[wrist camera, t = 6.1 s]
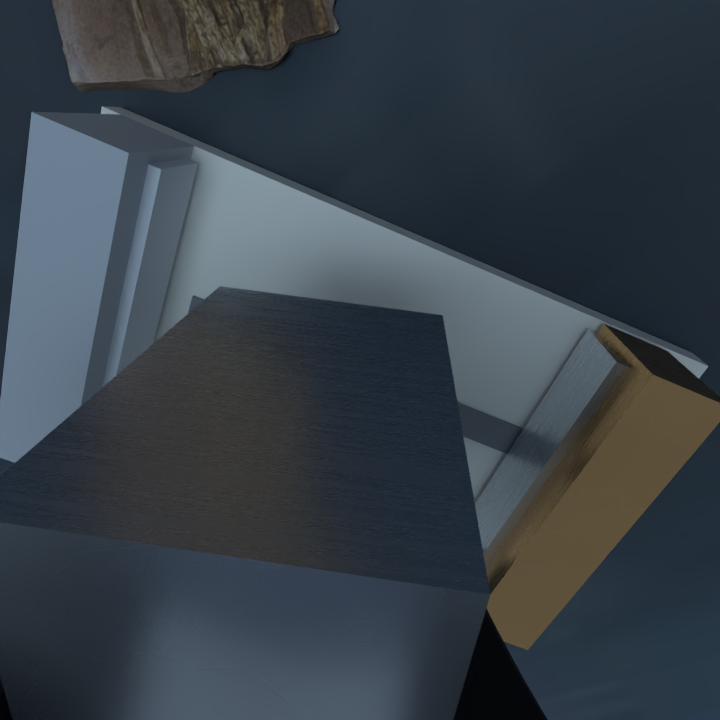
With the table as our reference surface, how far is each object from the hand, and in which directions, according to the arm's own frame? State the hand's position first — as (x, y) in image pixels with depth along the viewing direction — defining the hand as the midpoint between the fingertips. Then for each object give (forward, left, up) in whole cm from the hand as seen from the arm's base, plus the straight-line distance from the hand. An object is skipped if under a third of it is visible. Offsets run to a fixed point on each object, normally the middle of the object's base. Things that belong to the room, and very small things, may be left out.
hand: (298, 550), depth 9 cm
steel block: (0, 0, -2) cm, 2 cm away
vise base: (0, 0, -8) cm, 8 cm away
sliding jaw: (-7, 0, -7) cm, 10 cm away
